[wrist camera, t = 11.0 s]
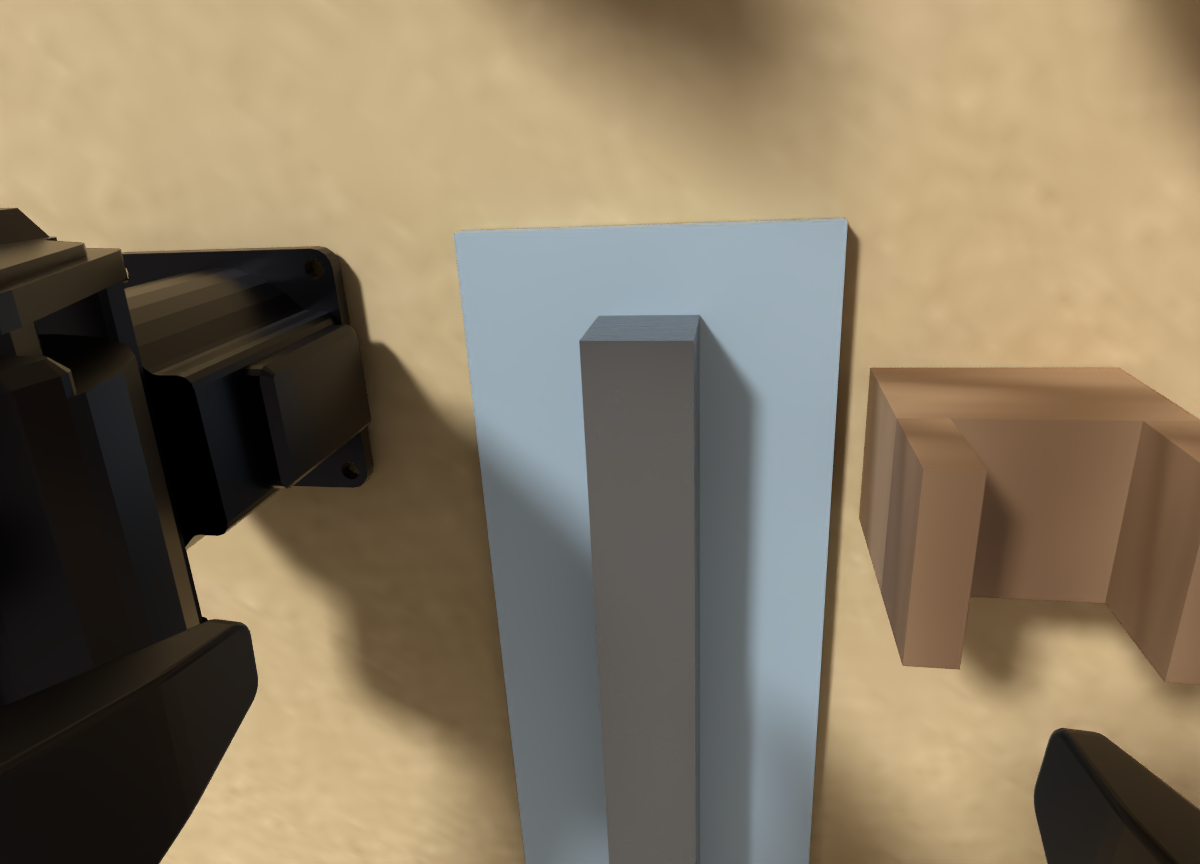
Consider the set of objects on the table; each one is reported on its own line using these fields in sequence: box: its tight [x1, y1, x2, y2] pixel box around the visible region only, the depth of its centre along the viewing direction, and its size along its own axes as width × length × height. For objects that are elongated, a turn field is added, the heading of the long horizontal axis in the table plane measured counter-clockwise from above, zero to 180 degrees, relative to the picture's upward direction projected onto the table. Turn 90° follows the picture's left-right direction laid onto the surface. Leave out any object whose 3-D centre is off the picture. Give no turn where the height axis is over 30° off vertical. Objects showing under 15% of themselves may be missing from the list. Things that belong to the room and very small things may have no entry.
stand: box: [859, 368, 1200, 684], centre depth 16 cm, size 5×4×6 cm
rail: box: [579, 315, 700, 864], centre depth 22 cm, size 26×2×2 cm, turn 3°
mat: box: [454, 218, 848, 864], centre depth 23 cm, size 9×30×1 cm, turn 3°
